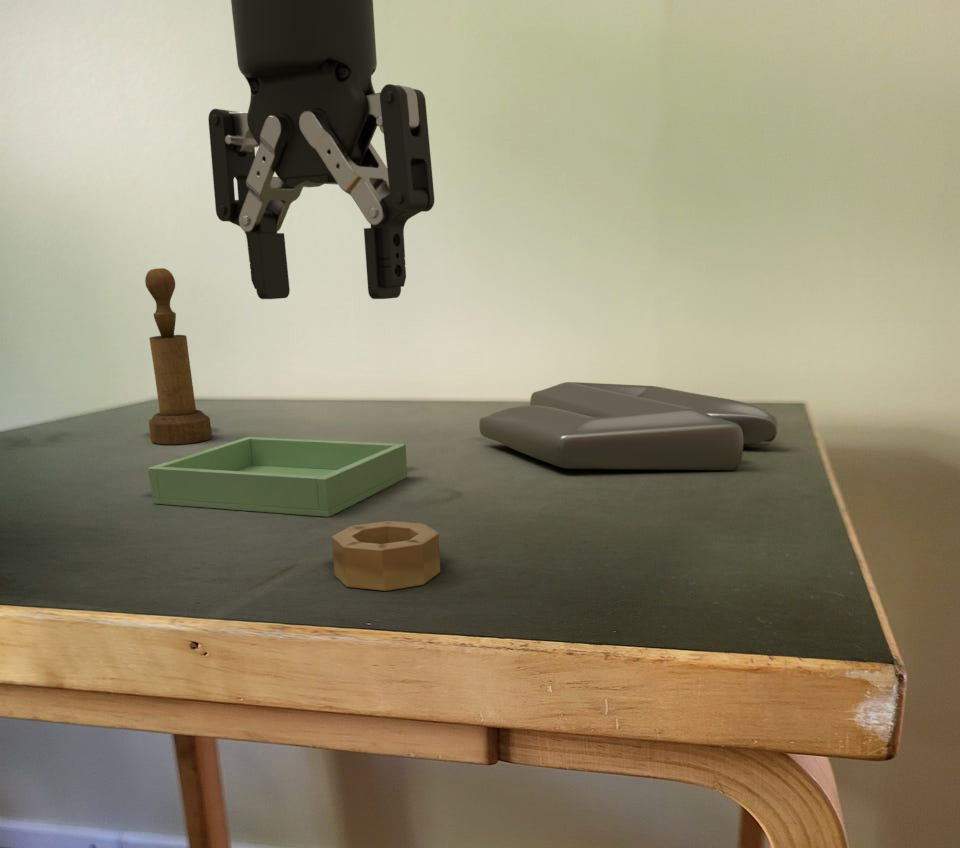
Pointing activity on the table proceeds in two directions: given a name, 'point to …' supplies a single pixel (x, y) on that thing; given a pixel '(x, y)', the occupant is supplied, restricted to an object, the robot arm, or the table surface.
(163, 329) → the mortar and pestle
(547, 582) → the table surface
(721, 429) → the emblem
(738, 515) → the table surface
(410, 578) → the ring
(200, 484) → the tray
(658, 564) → the table surface
